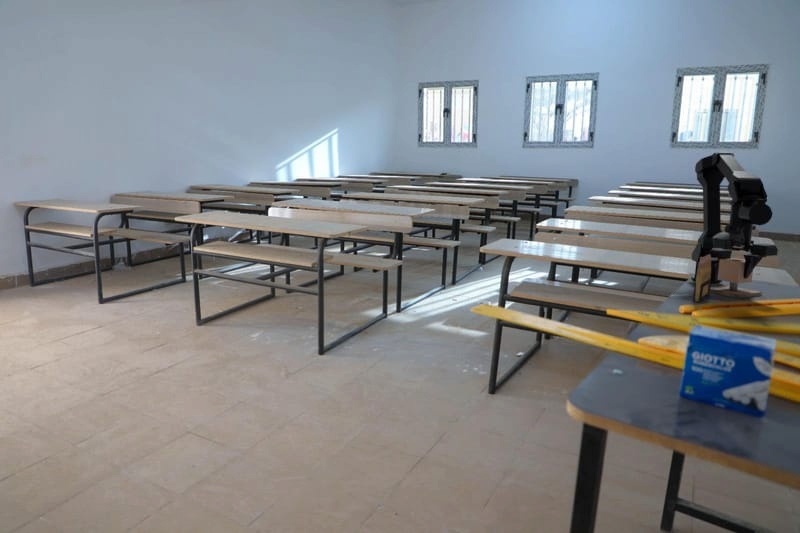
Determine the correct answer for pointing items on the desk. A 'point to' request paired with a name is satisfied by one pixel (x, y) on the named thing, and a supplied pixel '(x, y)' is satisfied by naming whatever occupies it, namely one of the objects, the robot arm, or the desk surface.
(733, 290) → the pin board
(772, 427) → the desk surface
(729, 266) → the collar
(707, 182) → the robot arm
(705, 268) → the ammunition clip
